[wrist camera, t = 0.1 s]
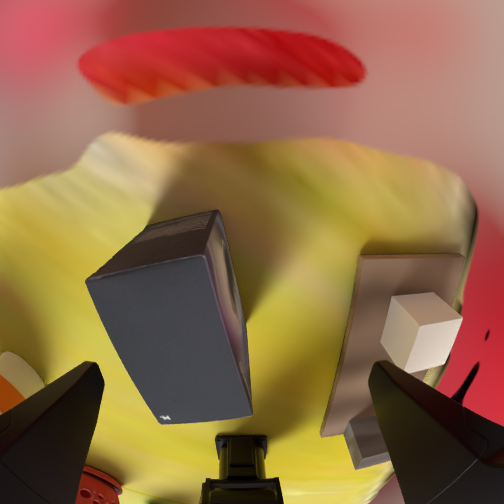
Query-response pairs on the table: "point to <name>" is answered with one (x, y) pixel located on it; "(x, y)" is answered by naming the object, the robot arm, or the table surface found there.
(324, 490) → the table surface
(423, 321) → the off-white block
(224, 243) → the small box
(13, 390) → the reusable coffee cup
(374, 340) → the walnut strip
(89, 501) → the plant pot
